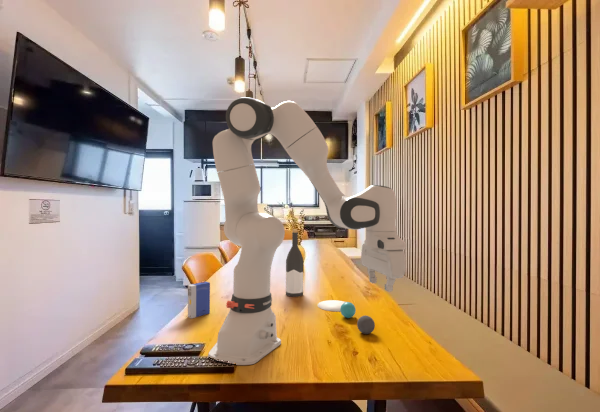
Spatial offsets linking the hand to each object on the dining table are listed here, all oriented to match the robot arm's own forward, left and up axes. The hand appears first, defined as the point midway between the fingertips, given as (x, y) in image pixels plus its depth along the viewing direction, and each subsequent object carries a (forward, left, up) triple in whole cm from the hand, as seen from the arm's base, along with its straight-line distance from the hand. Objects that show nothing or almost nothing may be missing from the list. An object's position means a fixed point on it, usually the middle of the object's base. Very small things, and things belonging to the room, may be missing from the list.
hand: (380, 286), depth 97 cm
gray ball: (+8, +5, -15) cm, 17 cm away
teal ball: (+21, +12, -15) cm, 28 cm away
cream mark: (+33, +19, -17) cm, 42 cm away
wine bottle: (+44, +40, -18) cm, 62 cm away
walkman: (+7, +66, -18) cm, 68 cm away
